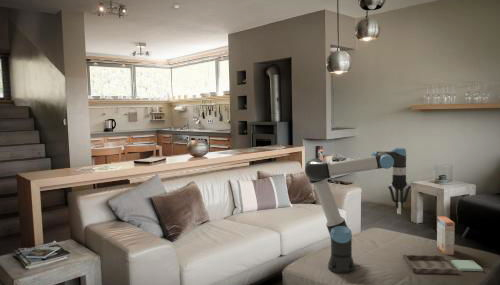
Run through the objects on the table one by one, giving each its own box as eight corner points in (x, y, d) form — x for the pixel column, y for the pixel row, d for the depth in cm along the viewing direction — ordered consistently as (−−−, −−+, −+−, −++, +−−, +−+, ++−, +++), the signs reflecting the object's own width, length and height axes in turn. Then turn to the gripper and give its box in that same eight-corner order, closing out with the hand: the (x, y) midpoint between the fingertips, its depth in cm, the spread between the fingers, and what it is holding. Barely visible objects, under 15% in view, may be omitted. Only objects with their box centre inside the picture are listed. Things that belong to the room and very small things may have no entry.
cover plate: (459, 272, 216) (459, 268, 216) (450, 264, 228) (450, 259, 228) (482, 273, 215) (482, 268, 214) (472, 264, 227) (472, 260, 226)
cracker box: (454, 255, 239) (455, 222, 237) (444, 255, 240) (444, 222, 238) (446, 247, 253) (446, 216, 251) (436, 247, 254) (436, 215, 252)
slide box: (413, 273, 215) (413, 268, 215) (403, 259, 235) (403, 254, 235) (457, 274, 212) (457, 269, 212) (443, 260, 232) (443, 255, 232)
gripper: (389, 175, 225) (389, 215, 227) (412, 175, 223) (412, 215, 225) (386, 173, 232) (386, 211, 234) (409, 172, 231) (408, 211, 233)
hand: (399, 213), depth 230 cm, fingers closed
